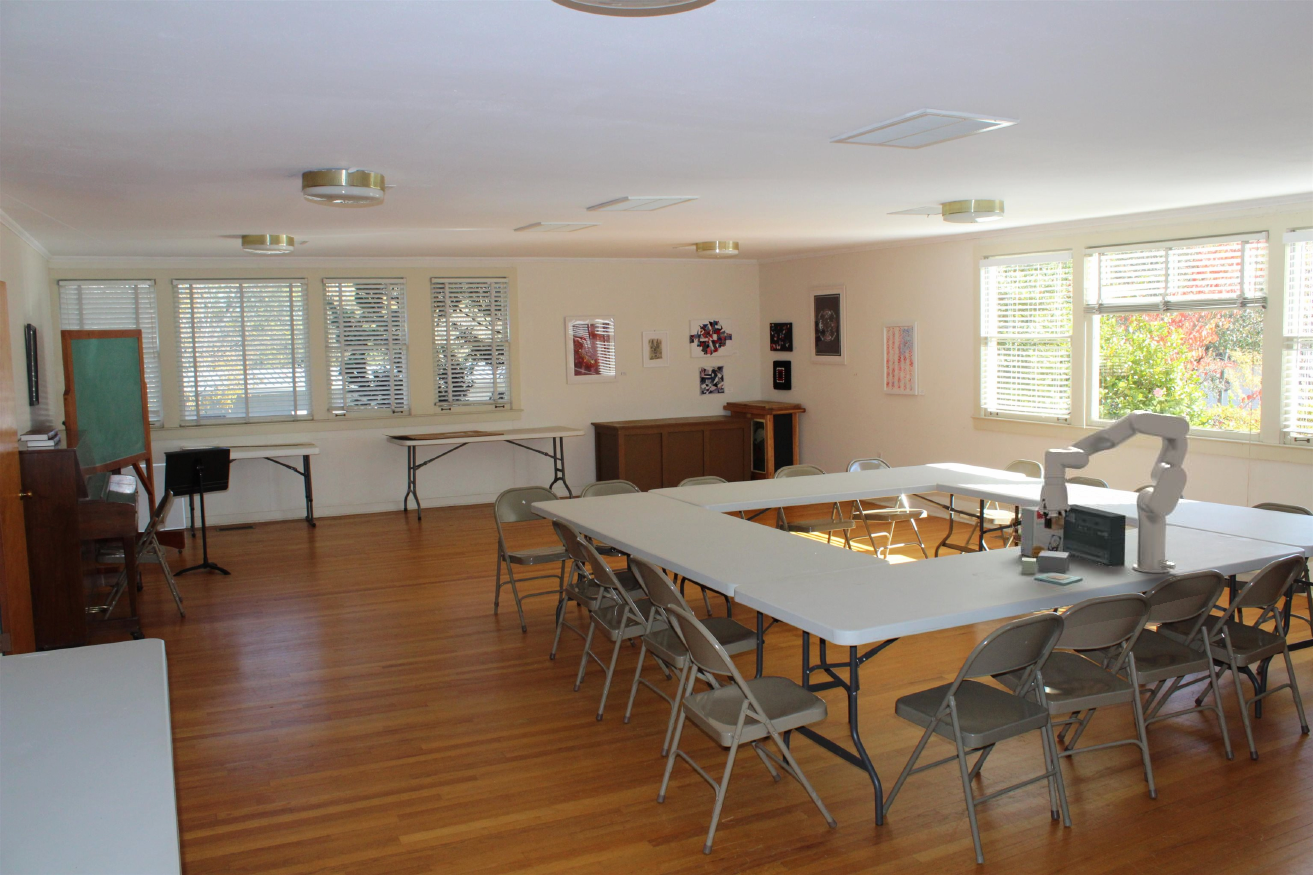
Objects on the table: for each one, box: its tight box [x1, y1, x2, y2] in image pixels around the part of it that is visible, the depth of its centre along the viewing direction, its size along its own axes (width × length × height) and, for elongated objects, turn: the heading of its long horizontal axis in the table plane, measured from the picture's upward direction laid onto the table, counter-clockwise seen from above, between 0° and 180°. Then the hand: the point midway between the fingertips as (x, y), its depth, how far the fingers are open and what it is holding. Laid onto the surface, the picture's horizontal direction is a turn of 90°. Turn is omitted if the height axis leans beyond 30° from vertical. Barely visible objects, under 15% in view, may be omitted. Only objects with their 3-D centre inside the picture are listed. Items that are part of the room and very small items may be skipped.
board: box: [1033, 571, 1083, 586], centre depth 344 cm, size 12×12×1 cm
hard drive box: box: [1020, 505, 1063, 558], centre depth 385 cm, size 16×8×20 cm, turn 105°
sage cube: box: [1021, 557, 1037, 575], centre depth 357 cm, size 5×5×5 cm
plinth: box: [1037, 550, 1070, 573], centre depth 361 cm, size 10×10×6 cm
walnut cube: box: [1044, 515, 1064, 530], centre depth 360 cm, size 5×5×5 cm
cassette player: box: [1063, 503, 1127, 567], centre depth 376 cm, size 29×7×20 cm, turn 14°
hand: (1053, 526), depth 360 cm, fingers closed on walnut cube, 5 cm apart
